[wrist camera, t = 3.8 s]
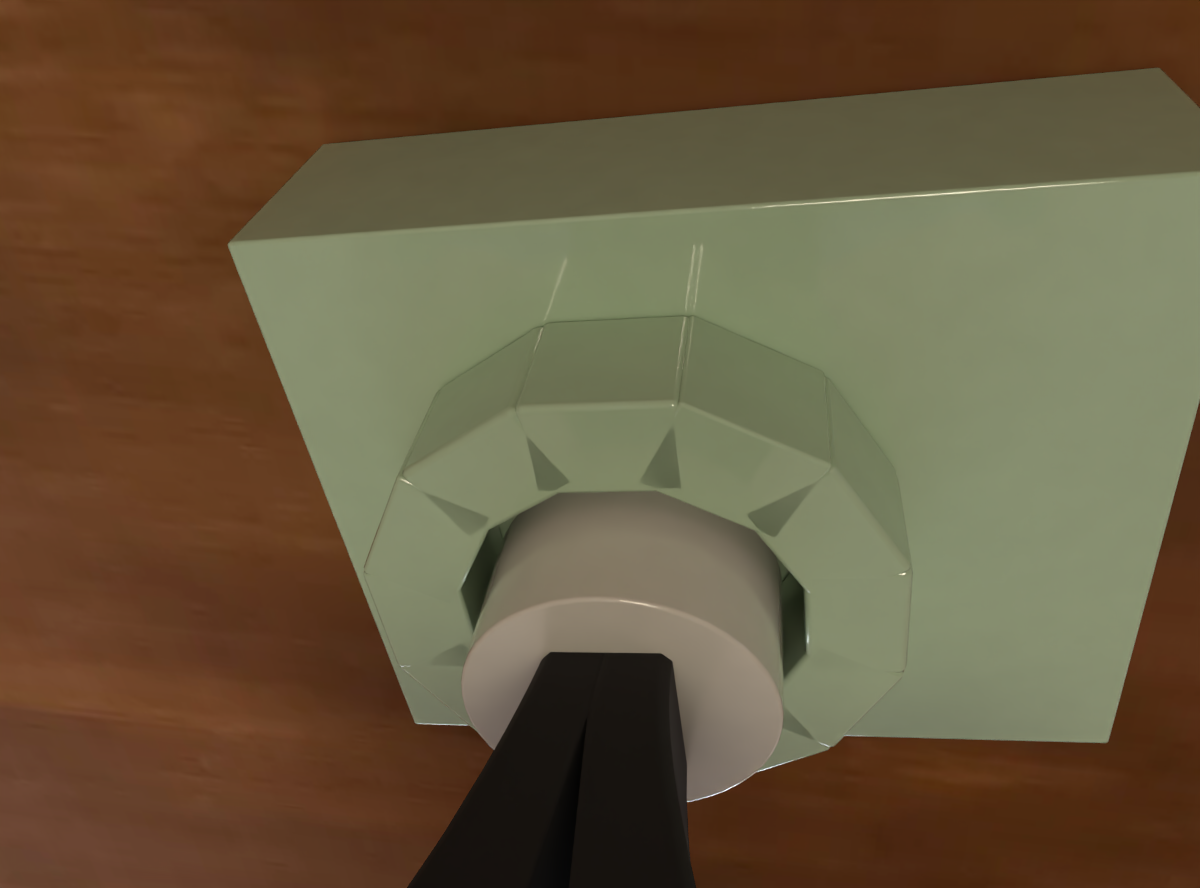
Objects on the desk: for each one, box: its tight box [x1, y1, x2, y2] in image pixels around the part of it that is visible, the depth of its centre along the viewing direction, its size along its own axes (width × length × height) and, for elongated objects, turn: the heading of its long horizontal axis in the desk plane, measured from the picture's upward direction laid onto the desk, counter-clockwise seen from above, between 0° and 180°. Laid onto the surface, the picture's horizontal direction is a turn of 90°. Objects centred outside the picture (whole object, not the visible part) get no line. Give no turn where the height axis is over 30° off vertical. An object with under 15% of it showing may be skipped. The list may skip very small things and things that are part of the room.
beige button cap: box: [461, 491, 784, 802], centre depth 12 cm, size 4×4×2 cm
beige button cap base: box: [228, 68, 1200, 773], centre depth 14 cm, size 11×9×5 cm
